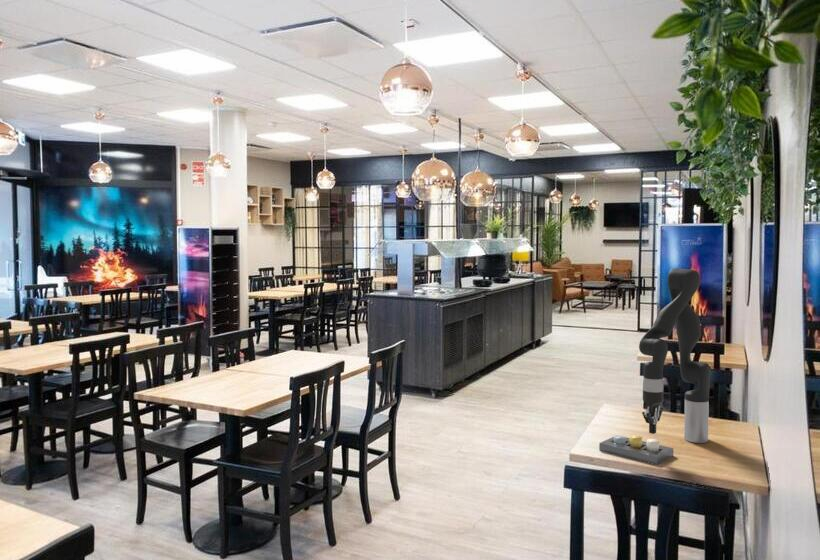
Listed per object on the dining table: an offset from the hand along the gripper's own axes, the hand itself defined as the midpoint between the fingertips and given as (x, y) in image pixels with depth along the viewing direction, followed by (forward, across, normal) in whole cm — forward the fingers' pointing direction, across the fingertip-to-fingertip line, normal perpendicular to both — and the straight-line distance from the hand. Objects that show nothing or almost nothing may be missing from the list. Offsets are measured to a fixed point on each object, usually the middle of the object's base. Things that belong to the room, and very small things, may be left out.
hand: (652, 433), depth 247 cm
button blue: (+9, 0, +14) cm, 17 cm away
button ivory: (+7, 0, 0) cm, 7 cm away
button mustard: (+7, 0, +7) cm, 10 cm away
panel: (+10, 0, +7) cm, 12 cm away
